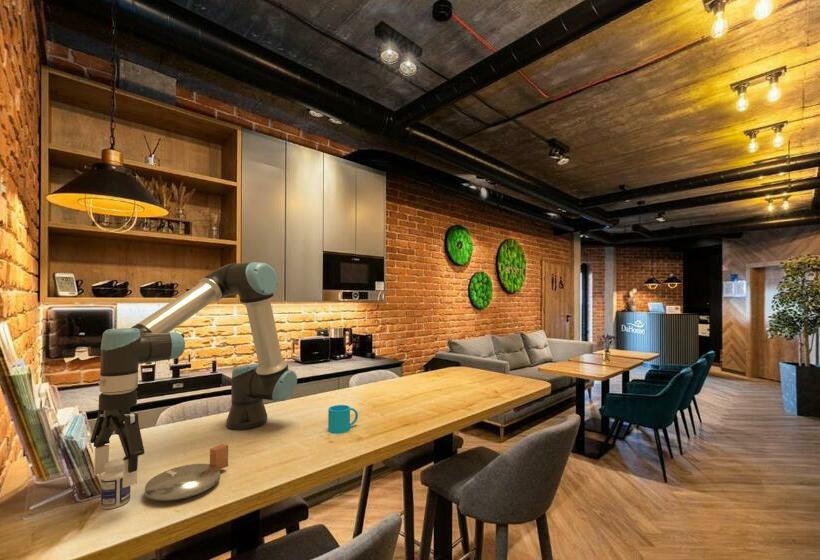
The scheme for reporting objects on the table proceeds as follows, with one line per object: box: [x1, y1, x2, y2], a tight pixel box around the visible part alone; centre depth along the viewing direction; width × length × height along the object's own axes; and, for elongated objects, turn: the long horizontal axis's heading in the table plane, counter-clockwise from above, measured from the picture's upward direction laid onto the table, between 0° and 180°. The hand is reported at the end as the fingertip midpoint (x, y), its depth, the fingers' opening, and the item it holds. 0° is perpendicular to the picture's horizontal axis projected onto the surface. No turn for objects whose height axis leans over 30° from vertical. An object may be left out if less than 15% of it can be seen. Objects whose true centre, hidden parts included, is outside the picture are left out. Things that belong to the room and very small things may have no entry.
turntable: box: [144, 443, 229, 502], centre depth 100 cm, size 17×20×6 cm
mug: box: [327, 404, 359, 434], centre depth 143 cm, size 12×8×8 cm
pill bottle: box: [100, 457, 131, 510], centre depth 92 cm, size 6×6×10 cm
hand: (114, 478), depth 92 cm, fingers open, 13 cm apart
